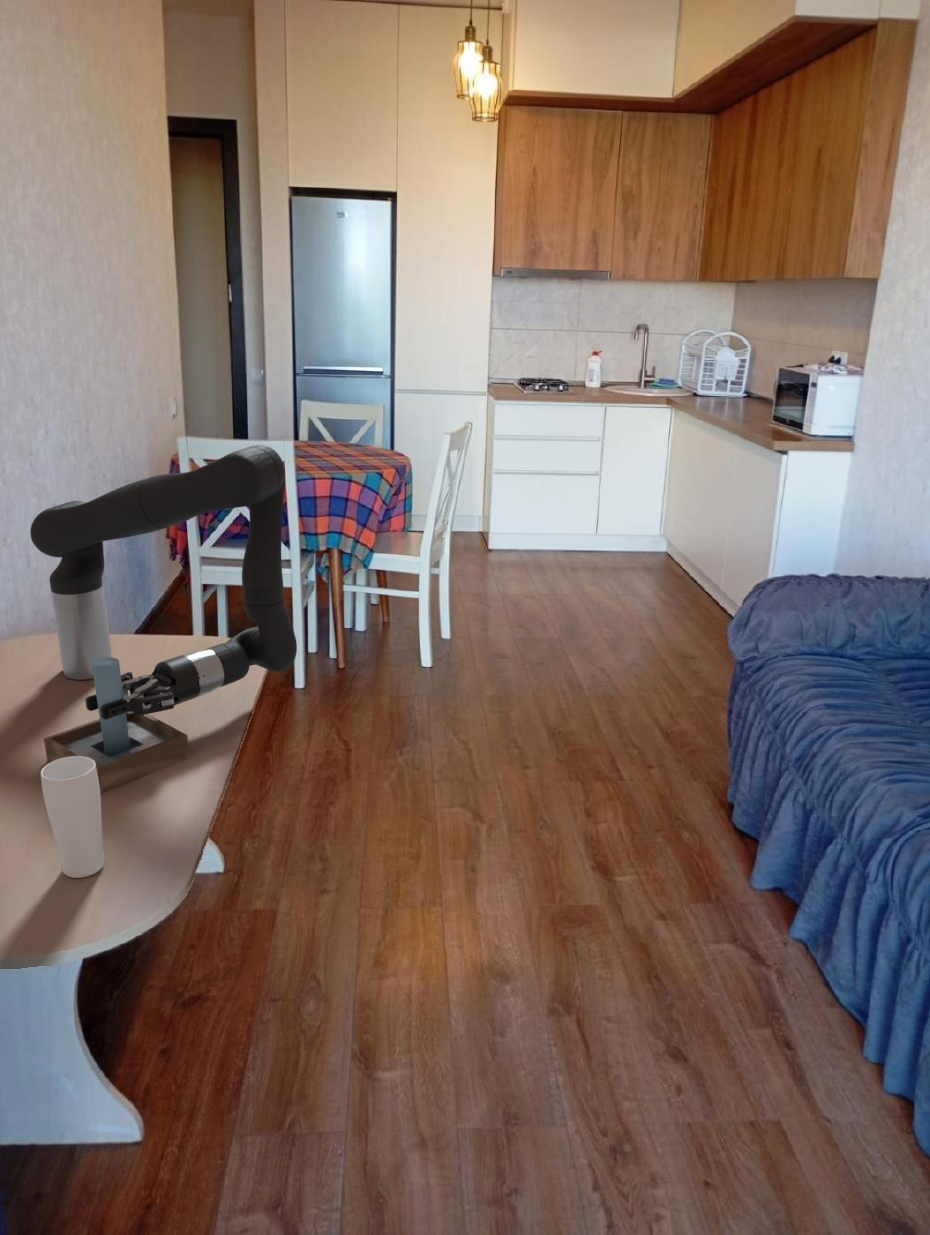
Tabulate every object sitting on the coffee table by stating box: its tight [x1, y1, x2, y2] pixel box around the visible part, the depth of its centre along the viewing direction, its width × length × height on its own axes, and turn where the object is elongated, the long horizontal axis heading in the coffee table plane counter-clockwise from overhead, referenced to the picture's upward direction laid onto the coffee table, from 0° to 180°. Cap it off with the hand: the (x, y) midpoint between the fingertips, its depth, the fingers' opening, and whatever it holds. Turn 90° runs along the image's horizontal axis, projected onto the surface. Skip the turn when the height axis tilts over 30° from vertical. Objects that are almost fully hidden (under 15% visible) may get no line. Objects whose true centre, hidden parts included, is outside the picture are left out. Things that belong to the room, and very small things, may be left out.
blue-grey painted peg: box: [92, 657, 131, 758], centre depth 158 cm, size 4×4×16 cm
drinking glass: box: [40, 756, 105, 879], centre depth 130 cm, size 7×7×15 cm
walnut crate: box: [43, 712, 190, 795], centre depth 160 cm, size 16×16×4 cm
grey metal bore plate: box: [61, 718, 172, 767], centre depth 161 cm, size 14×14×2 cm
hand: (94, 708), depth 156 cm, fingers closed on blue-grey painted peg, 4 cm apart
